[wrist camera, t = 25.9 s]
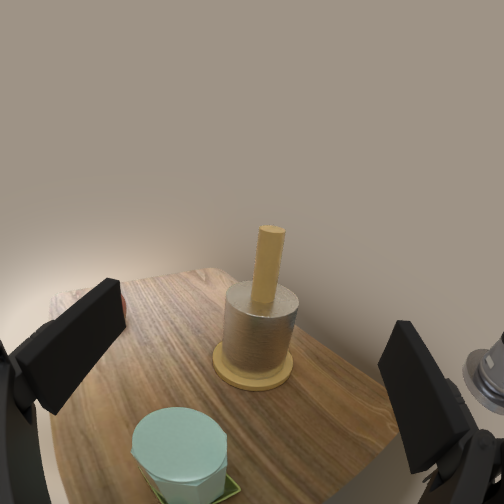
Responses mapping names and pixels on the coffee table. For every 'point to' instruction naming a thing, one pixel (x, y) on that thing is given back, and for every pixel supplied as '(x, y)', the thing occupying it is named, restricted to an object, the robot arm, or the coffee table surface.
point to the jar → (181, 455)
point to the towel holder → (258, 322)
